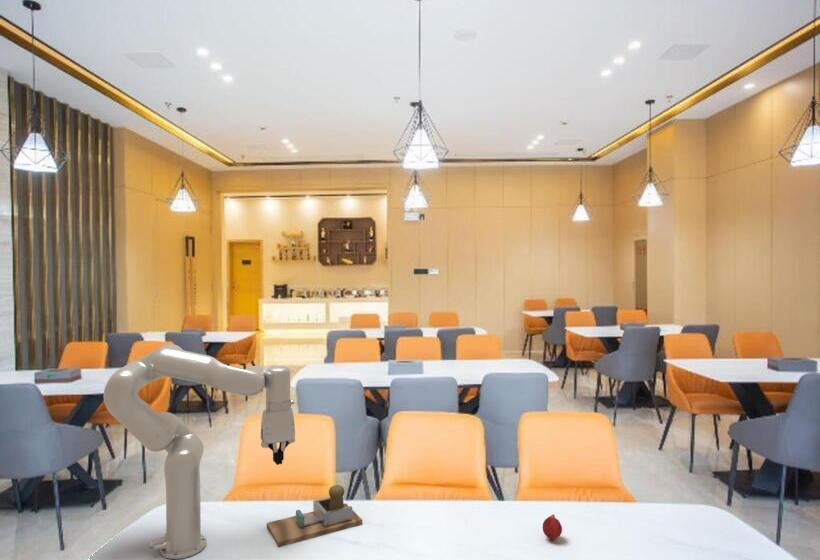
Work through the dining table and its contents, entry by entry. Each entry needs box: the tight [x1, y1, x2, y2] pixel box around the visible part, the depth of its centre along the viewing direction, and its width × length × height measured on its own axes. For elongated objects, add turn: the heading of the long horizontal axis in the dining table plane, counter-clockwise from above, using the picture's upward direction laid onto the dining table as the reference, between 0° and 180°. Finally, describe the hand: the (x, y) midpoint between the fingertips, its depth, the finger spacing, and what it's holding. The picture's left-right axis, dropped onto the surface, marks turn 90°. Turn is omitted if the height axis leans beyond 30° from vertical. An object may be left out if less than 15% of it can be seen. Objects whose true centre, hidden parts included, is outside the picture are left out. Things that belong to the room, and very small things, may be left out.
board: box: [266, 503, 363, 548], centre depth 167 cm, size 28×14×2 cm, turn 120°
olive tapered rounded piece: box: [328, 484, 345, 511], centre depth 171 cm, size 6×6×11 cm
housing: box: [295, 496, 353, 528], centre depth 168 cm, size 17×11×4 cm, turn 120°
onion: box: [542, 513, 563, 541], centre depth 158 cm, size 6×6×8 cm
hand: (278, 463), depth 161 cm, fingers closed
